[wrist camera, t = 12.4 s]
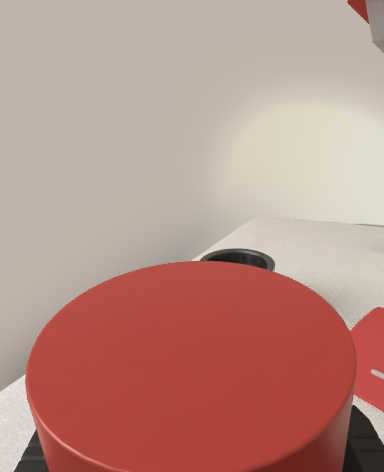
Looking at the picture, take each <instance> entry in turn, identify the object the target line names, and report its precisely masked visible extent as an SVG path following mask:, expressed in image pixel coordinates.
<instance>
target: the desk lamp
mask: <svg viewBox="0 0 384 472" xmlns="http://www.w3.org/2000/svg"><path fill="white" fill-rule="evenodd" d="M348 4H349V5H350V6H351V7H352V8H353V9H354V10H355V11H356V12H357V13H358V14H359V15H360V16H361V17H362V18H363V19H364V20H365V21H366V22H367V23H368V24H370V29H371V35H372V41H373V43H374V44H375V45H376V46H377V47H378V48H379V49H380V50H381V51H382V52H383V53H384V0H348ZM350 333H351V336H352V339H353V342H354V345H355V348H356V357H357V372H356V381H355V388H354V394H355V395H357V396H358V397H360V398H362V399H363V400H365V401H367V402H368V403H370V404H372V405H374V406H375V407H377V408H379V409H380V410H382V411H384V308H380V307H377V308H374V309H373V310H372V311H371V312H370V313H369V314H368V315H366V316H365V317H364V318H363V319H362V320H361V321H359V322H358V323H357V324H356V325H355V327H354V328H353V329H352V330H351V331H350Z"/></svg>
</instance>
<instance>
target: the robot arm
mask: <svg viewBox="0 0 384 472" xmlns="http://www.w3.org/2000/svg"><path fill="white" fill-rule="evenodd" d="M14 472H49V469H48V466H47V463H46V459H45V456H44V453H43V449H42V446H41V443H40V439H39V436H38V433H37V429H36V431H35V433H34V434H33V436H32V438H31V440H30V442H29V444H28V447H27V448H26V450H25V452H24V453H23V455H22V457H21V461H19V463H18V465H17V467H16V469H15V471H14ZM342 472H384V445H383V443H382V441H381V439H379V437H378V434H377V432H376V431H375V429H374V427H373V425H372V424H371V422H370V420H369V419H368V418H367V417H366V416H365V415H364V414H363V413H362V412H361V411H360V410H359V409H358V408H357V407H356V406H355V405H352V408H351V415H350V422H349V428H348V435H347V442H346V449H345V455H344V462H343V469H342Z"/></svg>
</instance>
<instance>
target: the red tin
mask: <svg viewBox="0 0 384 472" xmlns="http://www.w3.org/2000/svg"><path fill="white" fill-rule="evenodd" d="M356 372H357V357H356V348H355V345H354V342H353V339H352V336H351V333H350V331H349V330H348V328H347V326H346V324H345V322H344V321H343V319H342V318H341V317H340V315H339V314H338V313H337V311H336V310H335V309H334V308H333V307H332V306H331V305H330V304H329V303H328V302H327V301H326V300H325V299H323V298H322V297H321V296H319V295H318V294H317V293H316V292H314V291H313V290H311V289H309V288H308V287H306V286H304V285H303V284H301V283H299V282H297V281H295V280H293V279H291V278H289V277H286V276H284V275H281V274H278V273H276V272H272V271H269V270H266V269H263V268H258V267H254V266H250V265H244V264H238V263H230V262H218V261H189V262H177V263H168V264H162V265H156V266H151V267H147V268H142V269H139V270H135V271H132V272H129V273H126V274H123V275H120V276H117V277H114V278H112V279H110V280H107V281H105V282H103V283H101V284H99V285H97V286H95V287H93V288H91V289H89V290H88V291H86V292H84V293H83V294H81V295H79V296H78V297H76V298H75V299H74V300H72V301H71V302H70V303H68V304H67V305H66V306H64V307H63V308H62V309H61V310H60V311H59V312H58V313H57V314H56V315H55V316H54V317H53V318H52V319H51V320H50V321H49V322H48V323H47V325H46V326H45V327H44V329H43V330H42V332H41V333H40V334H39V336H38V338H37V340H36V342H35V344H34V346H33V348H32V350H31V353H30V356H29V360H28V363H27V368H26V379H25V384H26V392H27V399H28V402H29V406H30V409H31V412H32V416H33V419H34V422H35V426H36V429H37V433H38V436H39V439H40V443H41V446H42V449H43V453H44V456H45V459H46V463H47V466H48V469H49V472H342V469H343V462H344V455H345V449H346V442H347V435H348V428H349V422H350V415H351V408H352V401H353V395H354V388H355V381H356Z"/></svg>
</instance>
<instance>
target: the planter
mask: <svg viewBox="0 0 384 472" xmlns="http://www.w3.org/2000/svg"><path fill="white" fill-rule="evenodd" d="M200 261H218V262H230V263H238V264H244V265H250V266H254V267H258V268H263V269H266V270H269V271H272V272H275V263H274V260H273V259H272V258H271V257H269V256H268V255H266V254H264V253H262V252H259V251H255V250H249V249H224V250H219V251H215V252H212V253H209V254H207V255H205V256H204V257H202V258H201V259H200Z"/></svg>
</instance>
